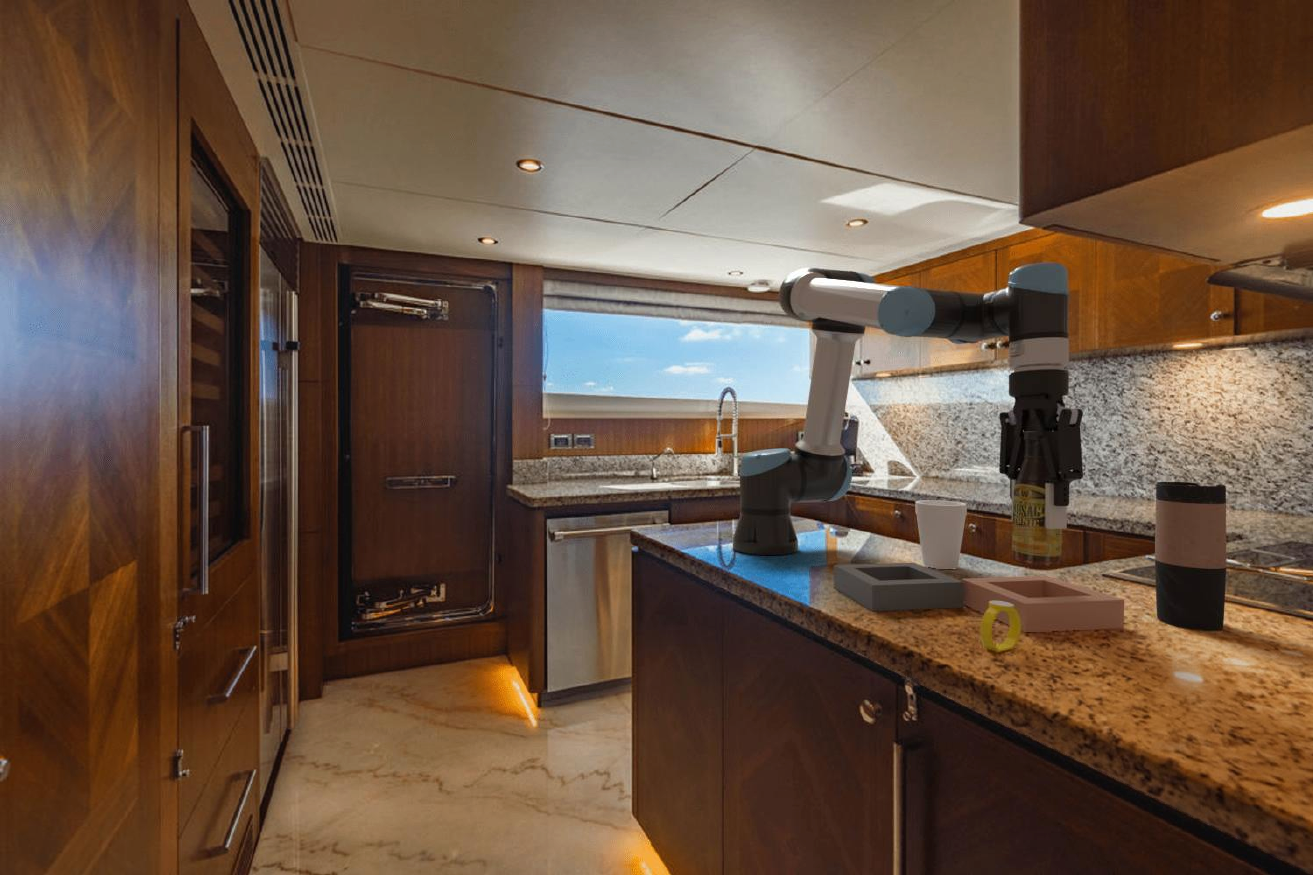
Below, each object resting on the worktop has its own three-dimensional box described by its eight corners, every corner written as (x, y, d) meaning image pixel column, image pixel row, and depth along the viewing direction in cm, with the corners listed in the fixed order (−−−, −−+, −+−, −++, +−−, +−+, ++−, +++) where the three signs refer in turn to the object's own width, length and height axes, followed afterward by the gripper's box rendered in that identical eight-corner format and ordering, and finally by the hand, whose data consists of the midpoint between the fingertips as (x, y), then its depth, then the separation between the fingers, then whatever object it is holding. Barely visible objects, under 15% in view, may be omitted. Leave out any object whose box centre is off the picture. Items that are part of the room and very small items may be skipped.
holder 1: (833, 587, 105) (833, 564, 105) (913, 584, 107) (913, 562, 107) (872, 611, 91) (872, 585, 91) (963, 607, 93) (963, 582, 93)
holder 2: (960, 603, 95) (961, 578, 95) (1046, 600, 97) (1046, 575, 97) (1025, 632, 81) (1025, 603, 81) (1123, 628, 83) (1124, 599, 83)
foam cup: (955, 562, 126) (956, 500, 125) (974, 572, 116) (974, 505, 116) (909, 561, 127) (909, 500, 127) (923, 571, 117) (924, 505, 117)
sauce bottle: (1002, 561, 91) (1001, 431, 91) (1029, 558, 93) (1028, 431, 93) (1045, 570, 85) (1044, 430, 85) (1073, 566, 87) (1072, 430, 87)
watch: (1004, 644, 78) (1007, 598, 78) (1025, 651, 75) (1028, 604, 75) (973, 648, 75) (976, 601, 75) (994, 655, 73) (996, 607, 73)
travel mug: (1162, 626, 84) (1163, 484, 84) (1148, 611, 91) (1149, 480, 91) (1235, 634, 80) (1236, 487, 80) (1214, 619, 87) (1215, 482, 87)
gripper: (973, 376, 98) (973, 516, 98) (1067, 362, 79) (1066, 536, 79) (1014, 376, 99) (1014, 515, 99) (1117, 362, 80) (1117, 534, 80)
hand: (1037, 524), depth 89 cm, fingers closed on sauce bottle, 6 cm apart
